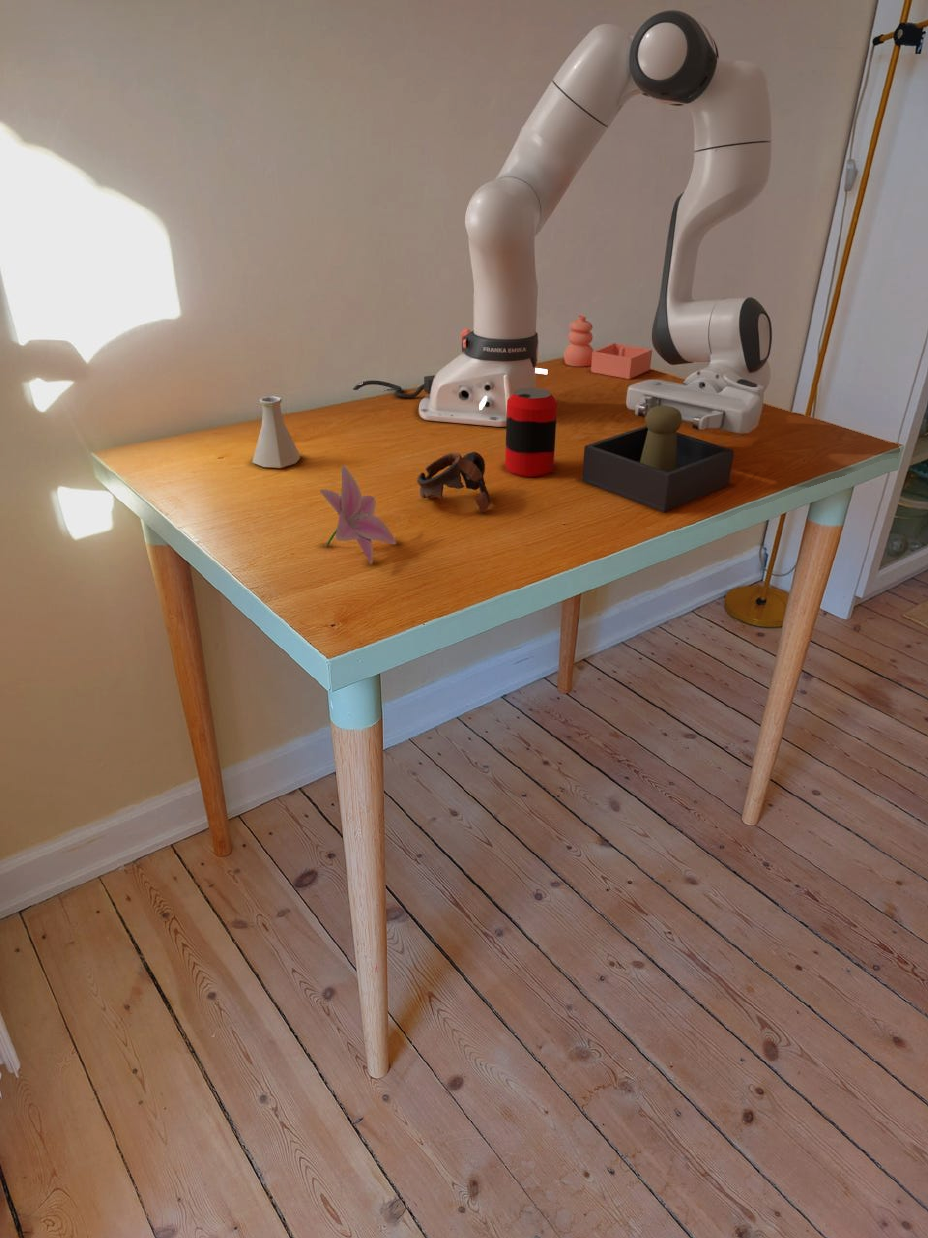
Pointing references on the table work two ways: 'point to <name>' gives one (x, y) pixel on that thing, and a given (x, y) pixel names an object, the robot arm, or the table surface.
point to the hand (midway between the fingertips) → (667, 417)
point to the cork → (661, 438)
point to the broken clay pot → (455, 476)
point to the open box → (656, 470)
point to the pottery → (604, 354)
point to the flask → (274, 437)
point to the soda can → (530, 432)
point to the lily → (357, 516)
